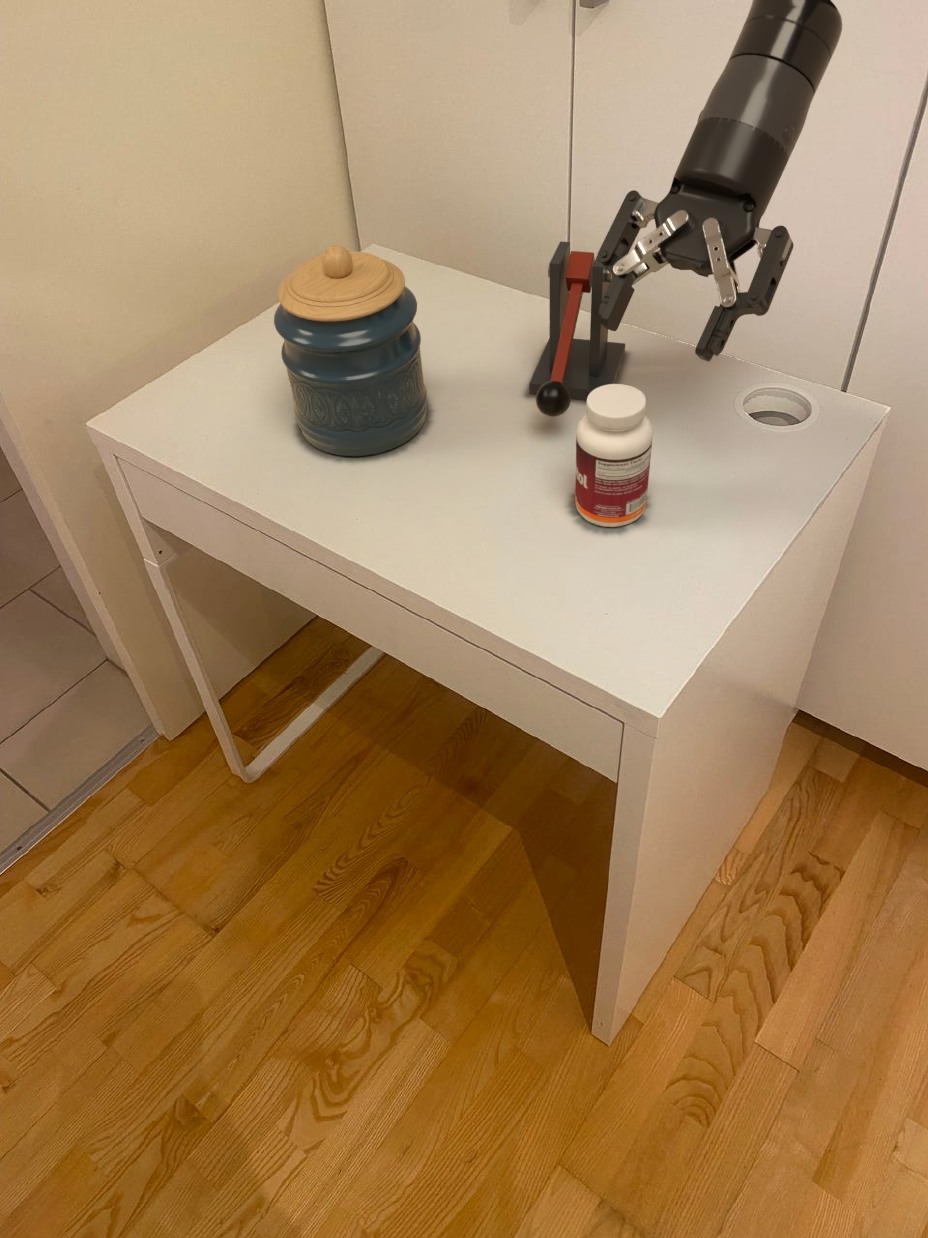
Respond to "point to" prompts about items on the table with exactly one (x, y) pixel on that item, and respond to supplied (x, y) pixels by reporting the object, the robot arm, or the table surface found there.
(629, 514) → the pill bottle
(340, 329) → the canister
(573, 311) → the lever
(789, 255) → the robot arm
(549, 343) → the bracket
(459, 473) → the table surface
